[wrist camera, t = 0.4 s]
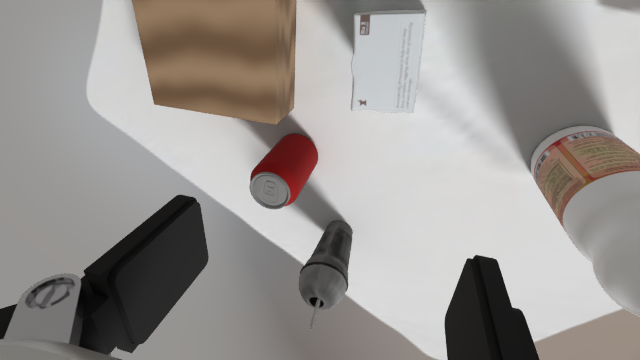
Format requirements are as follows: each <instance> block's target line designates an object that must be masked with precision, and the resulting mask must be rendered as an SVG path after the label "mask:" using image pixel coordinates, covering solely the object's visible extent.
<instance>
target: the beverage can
mask: <svg viewBox="0 0 640 360" xmlns="http://www.w3.org/2000/svg"><path fill="white" fill-rule="evenodd" d="M317 161H318V153H317V149H316V147H315V145H314V144H313V143H312V142H311V141H310V140H309V139H308V138H306V137H305V136H302V135H299V134H290V135H287V136H285V137H283V138H282V139H281V140H280V141H279V142H278V143H277V144H276V145H275V146H274V147H273V148H272V150H271V151H270V152H269V153H268V154H267V155H266V156H265V157H264V158H263V159H262V160H261V161H260V163H259V164H258V165H257V166H256V167H255V168H254V170H253V171H252V173H251V179H250V181H251V183H250V191H251V194H252V196H253V198H254V199H255V200H256V201H257V202H258V203H259V204H260V205H262V206H263V207H266V208H269V209H280V208H282V207H284V206H287V205H289V204H291V203H293V202H294V201H295V200H296V198H297V196H298V195H299V193H300V191H301V190H302V188H303V187H304V185H305V183H306V181H307V180H308V178H309V176H310V175H311V173H312V171H313V169H314V167H315V166H316V164H317Z"/></svg>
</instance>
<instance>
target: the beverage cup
mask: <svg viewBox="0 0 640 360" xmlns="http://www.w3.org/2000/svg"><path fill="white" fill-rule="evenodd" d="M352 233H353V232H352V229H351V227H350V226H349V225H348V224H347V223H345V222H342V221H334V222H331V223H330V224H329V226H328V227H327V229H326V230H325V232H324V234H323V236H322V237H321V239H320V241H319V243H318V245H317V247H316V249H315V250H314V252H313V254H312V256H311V258H310V259H309V260H308V261H307V263H306V264H305V266H303V268H302V269H301V272H300V277H299V290H300V293H301V296H302V298H303V299H304V301H305V302H306V303H307V304H308V305H310V306H311V307H313V308H315V309H314V313H313V317H312V321H311V324H310V330H313V328H314V324H315V320H316V316H317V312H318V309H321V310H324V309H329V308H331V307H333V306H335V305H336V304H338V303H339V302H340V300H341V299H342V298H343V296H344V294H345V292H346V291H347V288H348V264H349V257H350V250H351V243H352Z"/></svg>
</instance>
